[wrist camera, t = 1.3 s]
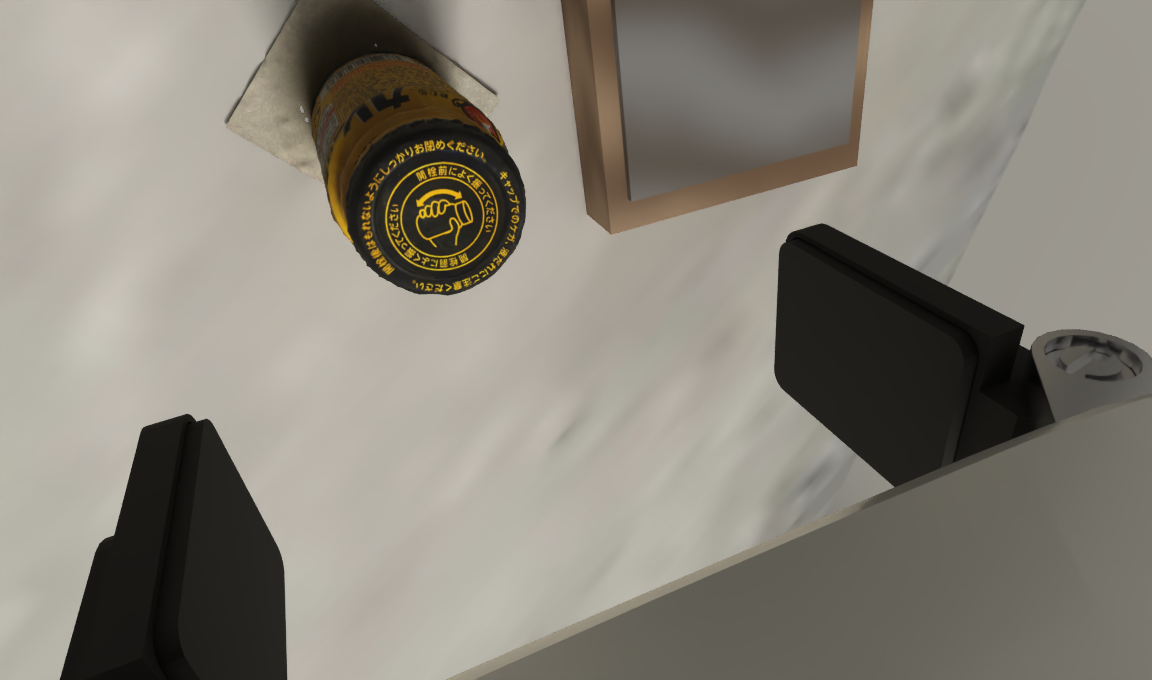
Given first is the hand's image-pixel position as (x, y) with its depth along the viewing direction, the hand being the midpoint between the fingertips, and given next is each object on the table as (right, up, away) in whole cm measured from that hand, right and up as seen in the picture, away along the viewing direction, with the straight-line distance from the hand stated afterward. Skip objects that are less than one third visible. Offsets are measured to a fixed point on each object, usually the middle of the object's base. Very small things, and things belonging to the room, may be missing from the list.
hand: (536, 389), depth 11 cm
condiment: (-8, +11, +18) cm, 22 cm away
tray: (+7, +17, +21) cm, 27 cm away
